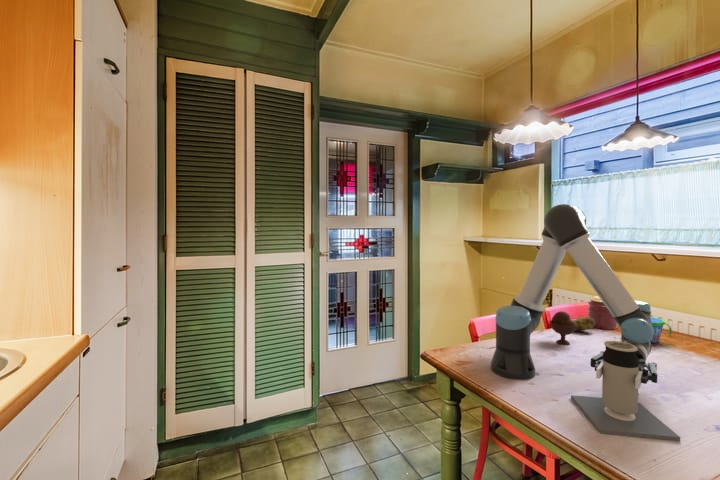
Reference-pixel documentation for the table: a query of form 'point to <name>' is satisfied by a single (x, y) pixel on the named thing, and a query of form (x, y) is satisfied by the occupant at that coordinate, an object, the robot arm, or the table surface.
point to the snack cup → (658, 329)
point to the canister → (601, 314)
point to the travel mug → (620, 377)
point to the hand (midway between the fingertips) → (616, 378)
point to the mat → (623, 420)
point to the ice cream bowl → (563, 326)
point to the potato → (584, 323)
